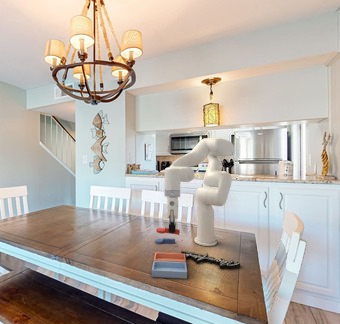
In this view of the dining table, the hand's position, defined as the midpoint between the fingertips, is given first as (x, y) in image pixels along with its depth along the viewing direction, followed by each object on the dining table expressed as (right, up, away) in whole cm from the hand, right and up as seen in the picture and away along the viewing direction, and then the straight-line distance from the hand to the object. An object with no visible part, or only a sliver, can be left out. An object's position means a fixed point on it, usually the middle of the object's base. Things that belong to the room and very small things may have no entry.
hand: (172, 231), depth 100 cm
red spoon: (-2, -1, 0) cm, 2 cm away
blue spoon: (-2, -13, +20) cm, 24 cm away
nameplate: (+17, -13, -2) cm, 22 cm away
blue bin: (-2, -13, -12) cm, 18 cm away
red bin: (-1, -13, -3) cm, 14 cm away
